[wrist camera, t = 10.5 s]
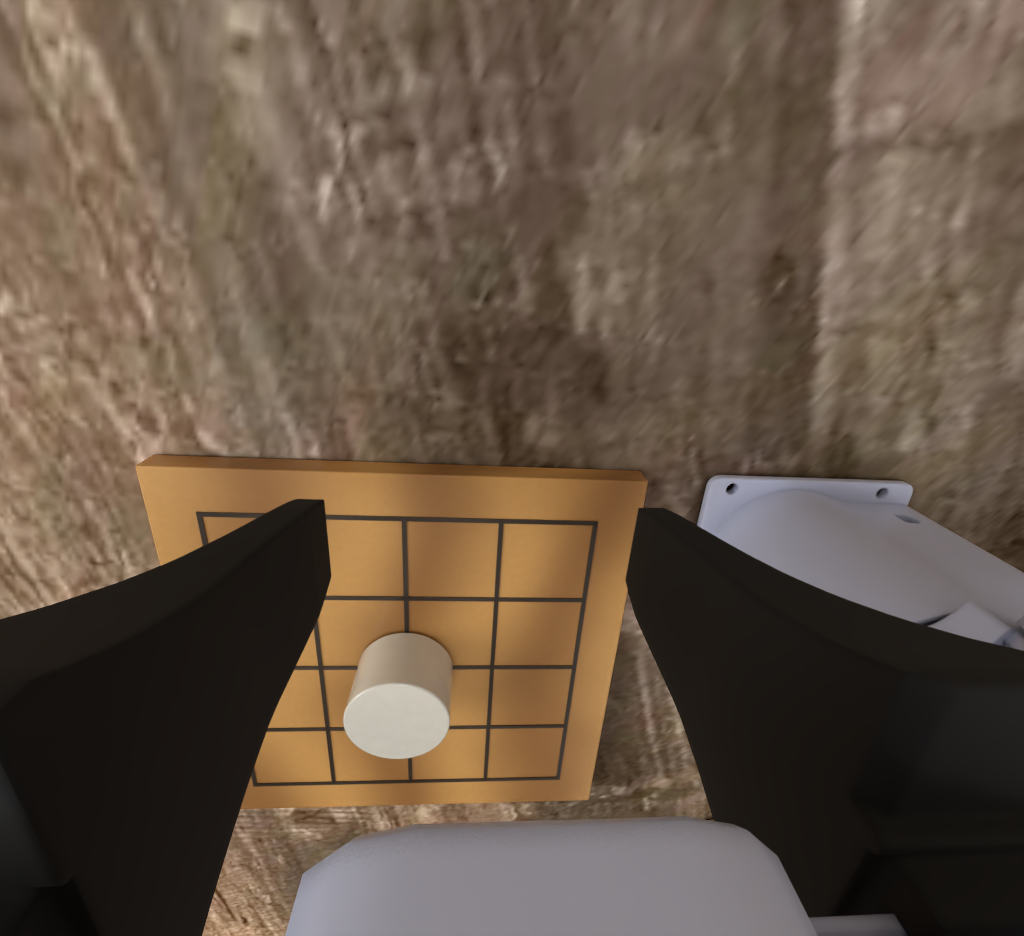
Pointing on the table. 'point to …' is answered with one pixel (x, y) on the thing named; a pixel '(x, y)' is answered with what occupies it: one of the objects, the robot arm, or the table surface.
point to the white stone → (400, 697)
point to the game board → (434, 615)
